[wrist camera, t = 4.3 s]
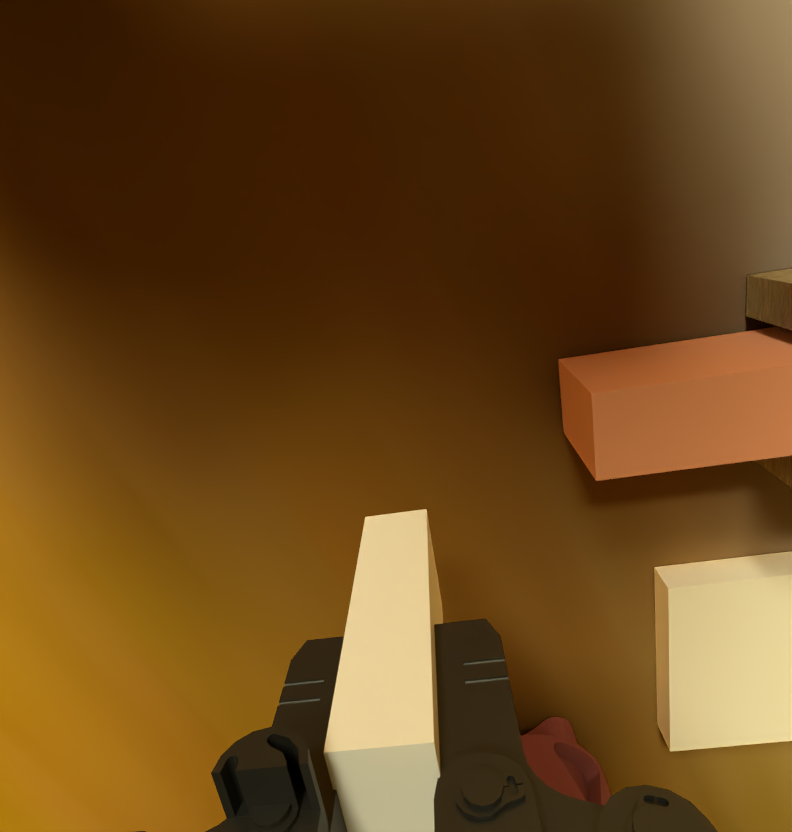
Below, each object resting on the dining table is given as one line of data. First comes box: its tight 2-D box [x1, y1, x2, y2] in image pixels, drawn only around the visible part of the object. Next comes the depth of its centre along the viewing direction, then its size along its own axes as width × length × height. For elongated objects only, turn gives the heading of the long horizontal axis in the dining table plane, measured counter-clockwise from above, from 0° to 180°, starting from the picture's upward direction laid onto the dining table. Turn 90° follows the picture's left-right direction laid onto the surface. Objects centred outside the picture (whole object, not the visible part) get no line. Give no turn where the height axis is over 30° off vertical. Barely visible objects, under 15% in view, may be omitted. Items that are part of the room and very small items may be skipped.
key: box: [558, 327, 792, 481], centre depth 20 cm, size 8×3×4 cm, turn 99°
